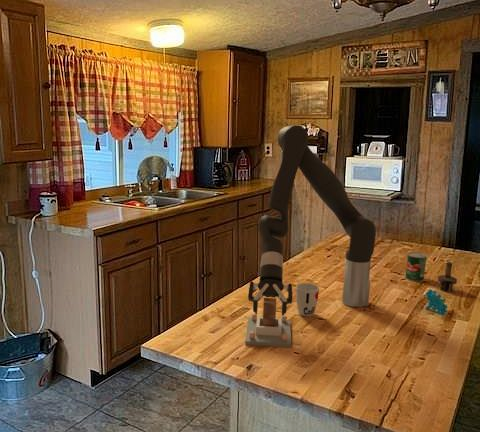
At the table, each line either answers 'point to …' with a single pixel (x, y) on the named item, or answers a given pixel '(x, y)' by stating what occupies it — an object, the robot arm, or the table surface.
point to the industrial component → (447, 279)
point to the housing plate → (268, 332)
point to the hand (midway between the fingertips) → (269, 313)
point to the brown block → (269, 312)
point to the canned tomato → (415, 266)
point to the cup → (306, 298)
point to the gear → (436, 302)
